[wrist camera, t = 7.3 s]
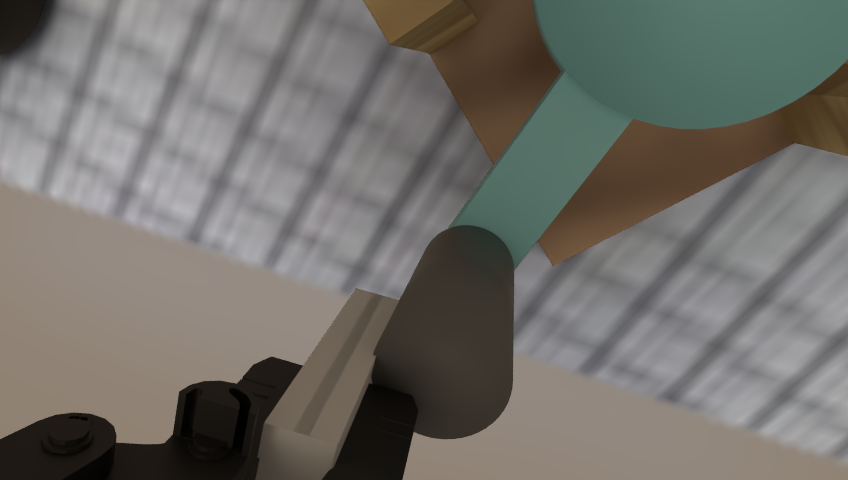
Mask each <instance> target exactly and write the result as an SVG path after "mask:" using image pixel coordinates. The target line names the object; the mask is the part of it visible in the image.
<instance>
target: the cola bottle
mask: <svg viewBox="0 0 848 480" xmlns="http://www.w3.org/2000/svg"><path fill="white" fill-rule="evenodd" d="M42 6H43V0H0V55H1V54H4V53H6V52H8V51H10V50H12V49H13V48H15V47H17V46H18V45H19V44H21V43H22V42H23V41H24V40H25V39H26V38H27V37H28V36H29V34H30V33H31V32H32V30H33V29H34V27H35V25H36V24H37V21H38V19H39V17H40V14H41V10H42Z"/></svg>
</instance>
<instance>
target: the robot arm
mask: <svg viewBox="0 0 848 480" xmlns="http://www.w3.org/2000/svg"><path fill="white" fill-rule="evenodd" d="M398 302H399V300H396V299H392V298H389V297H385V296H382V295H378V294H375V293H371V292H368V291H364V290H360V289H357V288H356V289H355V291H354V292H353V294H352V295H351V297H350V298H349V300H348V301H347V303H346V304H345V306H344V307H343V308H342V310H341V311H340V313H339V314H338V316H337V317H336V319H335V320H334V322H333V323H332V325H331V326H330V327H329V329H328V330H327V332H326V333H325V335H324V336H323V338H322V339H321V341H320V342H319V343H318V345H317V346H316V348H315V350H314V351H313V352H312V354H311V355H310V357H309V358H308V360H307V361H306V362H305V364H304V365H303V366H302V365H299V364H295V363H292V362H289V361H285V360H282V359H278V358H275V357H270V358H267V359H265V360H263V361H261V362H258V363H256V364H254V365H253V366H252V367H251V368H250V369H249V370H248V372H247V373H246V374H245V375H244V376H243V378H242V380H240V381H239V382H238V383H237V384H235V383H229V382H224V381H203V382H200V383H196V384H192V385H190V386H188V387H186V388H185V389H183V390H181V391H180V392H179V397H178V404H177V410H176V417H175V424H174V431H173V435H172V436H171V437H170V438H169V439H168V440H167V441H166V442H165V443H163V444H146V445H145V444H129V443H116V432H115V429H114V426H113V425H112V424H111V423H109V422H108V421H107V420H106V419H104V418H101V417H98V416H95V415H92V414H85V413H68V414H59V415H54V416H51V417H48V418H45V419H43V420H40V421H37V422H35V423H33V424H31V425H29V426H27V427H25V428H23V429H21V430H19V431H17V432H14V433H12V434H10V435H8V436H6V437H4V438H2V439H0V480H402V479H403V475H404V470H405V466H406V462H407V457H408V453H409V449H410V445H411V440H412V436H413V432H414V427H415V423H416V419H417V414H418V409H417V406H416V404H415V401H414V399H413V396H412V395H409V394H405V393H402V392H398V391H395V390H391V389H388V388H384V387H381V386H377V385H374V384H372V378H371V375H372V371H373V367H374V363H375V359H376V356H375V355H373V353H374V350H375V348H376V345H377V343H378V341H379V339H380V337H381V335H382V333H383V331H384V329H385V327H386V326H387V324H388V322H389V320H390V318H391V316H392V314H393V312H394V310H395V308H396V306H397V304H398Z"/></svg>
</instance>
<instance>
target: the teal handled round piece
mask: <svg viewBox="0 0 848 480" xmlns="http://www.w3.org/2000/svg"><path fill="white" fill-rule="evenodd" d="M532 5H533V10H534V15H535V20H536V23H537V26H538V29H539V32H540V35H541V38H542V40H543V42H544V44H545V46H546V48H547V50H548V52H549V54H550V56H551V58H552V59H553V61H554V62H555V64H556V65H557V66H558V68H559V69H560V71H561V72H560V74H559V75H558V76H557V78H556V79H555V81H554V82H553V83H552V85H551V86H550V88H549V89H548V90H547V92H546V93H545V95H544V96H543V97H542V99H541V100H540V101H539V103H538V104H537V106H536V107H535V108H534V110H533V111H532V113H531V114H530V115H529V117H528V118H527V120H526V121H525V122H524V124H523V125H522V126H521V128H520V129H519V131H518V132H517V133H516V135H515V136H514V138H513V139H512V140H511V142H510V143H509V145H508V146H507V147H506V149H505V150H504V151H503V153H502V154H501V156H500V157H499V158H498V160H497V161H496V163H495V164H494V165H493V167H492V168H491V170H490V171H489V172H488V174H487V175H486V176H485V178H484V179H483V181H482V182H481V183H480V185H479V186H478V188H477V189H476V190H475V192H474V193H473V195H472V196H471V197H470V199H469V200H468V201H467V203H466V204H465V206H464V207H463V208H462V210H461V211H460V213H459V214H458V215H457V217H456V218H455V220H454V221H453V222H452V224H451V225H450V226H449V228H448V229H447V230H445V231H443V232H441V233H440V234H438V235H437V236H436V237H435V238H434V239H433V240H432V241H431V242H430V243H429V245H428V246H427V248H426V250H425V252H424V254H423V256H422V258H421V260H420V261H419V263H418V265H417V267H416V269H415V271H414V273H413V275H412V277H411V279H410V281H409V283H408V285H407V287H406V289H405V291H404V293H403V294H402V296H401V298H400V300H399V302H398V304H397V306H396V308H395V310H394V312H393V314H392V316H391V318H390V320H389V322H388V324H387V326H386V327H385V329H384V331H383V333H382V335H381V337H380V339H379V341H378V343H377V345H376V348H375V350H374V353H373V355H375V356H376V359H375V363H374V367H373V371H372V375H371V378H372V384H374V385H377V386H381V387H384V388H388V389H391V390H395V391H398V392H402V393H405V394H409V395H412V396H413V399H414V401H415V404H416V406H417V409H418V414H417V419H416V423H415V427H414V432H416V433H418V434H421V435H424V436H427V437H431V438H438V439H456V438H463V437H467V436H470V435H473V434H475V433H478V432H480V431H482V430H483V429H485V428H487V427H488V426H489V425H491V424H492V423H493V422H494V421H495V420H496V419H497V418H498V417H499V416H500V415H501V413H502V412H503V411H504V409H505V407H506V405H507V403H508V401H509V398H510V395H511V391H512V384H513V325H514V270H515V268H516V267H517V266H518V265H519V263H520V262H521V261H522V260H523V258H524V257H525V256H526V254H527V253H528V252H529V251H530V249H531V248H532V247H533V246H534V244H535V243H536V242H537V240H538V239H539V238H540V237H541V235H542V234H543V233H544V232H545V230H546V229H547V228H548V226H549V225H550V224H551V223H552V221H553V220H554V219H555V218H556V216H557V215H558V214H559V212H560V211H561V210H562V209H563V207H564V206H565V205H566V204H567V202H568V201H569V200H570V198H571V197H572V196H573V195H574V193H575V192H576V191H577V190H578V188H579V187H580V186H581V184H582V183H583V182H584V181H585V179H586V178H587V177H588V176H589V174H590V173H591V172H592V170H593V169H594V168H595V167H596V165H597V164H598V163H599V162H600V160H601V159H602V158H603V156H604V155H605V154H606V153H607V151H608V150H609V149H610V148H611V146H612V145H613V144H614V142H615V141H616V140H617V139H618V137H619V136H620V135H621V134H622V132H623V131H624V130H625V129H626V127H627V126H628V125H629V123H630V122H631V121H632V120H633V118H634V119H636V120H639V121H643V122H647V123H650V124H654V125H657V126H664V127H671V128H677V129H708V128H717V127H726V126H730V125H734V124H738V123H743V122H747V121H750V120H753V119H756V118H759V117H761V116H764V115H767V114H770V113H772V112H774V111H776V110H778V109H780V108H782V107H784V106H786V105H788V104H790V103H792V102H794V101H796V100H797V99H799V98H800V97H802V96H804V95H805V94H807V93H808V92H810V91H811V90H813V89H814V88H816V87H817V86H818V85H820V84H821V83H822V82H823V81H824V80H826V79H827V78H828V77H829V76H831V75H832V74H833V73H834V72H836V71H837V70H838V69H839V68H840V67H841V66H842V65H843V63H844V62H845V61H846V60H847V59H848V0H532Z"/></svg>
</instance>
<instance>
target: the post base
mask: <svg viewBox="0 0 848 480" xmlns="http://www.w3.org/2000/svg"><path fill="white" fill-rule="evenodd" d="M363 1H364V2H365V4H366V6H367V7H368V9H369V11H370V12H371V14H372V16H373V18H374V19H375V21H376V23H377V24H378V26H379V28H380V29H381V31H382V33H383V34H384V36H385V38H386V39H387V41H388V43H389V44H390V45H394V46H399V47H403V48H408V49H412V50H416V51H421V52H425V53H429V54H430V56H431V58H432V60H433V61H434V63H435V65H436V66H437V68H438V70H439V72H440V73H441V75H442V77H443V78H444V80H445V82H446V84H447V85H448V87H449V89H450V90H451V92H452V94H453V96H454V97H455V99H456V101H457V102H458V104H459V106H460V108H461V109H462V111H463V113H464V114H465V116H466V118H467V120H468V121H469V123H470V125H471V126H472V128H473V130H474V132H475V133H476V135H477V137H478V138H479V140H480V142H481V144H482V145H483V147H484V149H485V150H486V152H487V154H488V156H489V157H490V159H491V161H492V162H493V164H495V163H496V161H497V160H498V158H499V157H500V156H501V154H502V153H503V151H504V150H505V149H506V147H507V146H508V145H509V143H510V142H511V140H512V139H513V138H514V136H515V135H516V133H517V132H518V131H519V129H520V128H521V126H522V125H523V124H524V122H525V121H526V120H527V118H528V117H529V115H530V114H531V113H532V111H533V110H534V108H535V107H536V106H537V104H538V103H539V101H540V100H541V99H542V97H543V96H544V95H545V93H546V92H547V90H548V89H549V88H550V86H551V85H552V83H553V82H554V81H555V79H556V78H557V76H558V75H559V74H560V72H561V71H560V69H559V68H558V66H557V65H556V64H555V62H554V61H553V59H552V58H551V56H550V54H549V52H548V50H547V48H546V46H545V44H544V42H543V40H542V38H541V35H540V32H539V29H538V26H537V23H536V20H535V15H534V10H533V5H532V0H363ZM793 143H798V144H802V145H806V146H810V147H814V148H818V149H822V150H826V151H830V152H834V153H837V154H841V155H845V156H848V59H847V60H846V61H845V62H844V63H843V65H842V66H841V67H840V68H839V69H838V70H837V71H836V72H834V73H833V74H832V75H831V76H829V77H828V78H827V79H826V80H824V81H823V82H822V83H821V84H820V85H818V86H817V87H816V88H814V89H813V90H811V91H810V92H808V93H807V94H805V95H804V96H802V97H800V98H799V99H797V100H796V101H794V102H792V103H790V104H788V105H786V106H784V107H782V108H780V109H778V110H776V111H774V112H772V113H770V114H767V115H764V116H761V117H759V118H756V119H753V120H750V121H747V122H743V123H738V124H734V125H730V126H726V127H717V128H708V129H677V128H671V127H664V126H657V125H654V124H650V123H647V122H643V121H639V120H636V119H634V118H633V120H632V121H631V122H630V123H629V125H628V126H627V127H626V129H625V130H624V131H623V132H622V134H621V135H620V136H619V137H618V139H617V140H616V141H615V142H614V144H613V145H612V146H611V148H610V149H609V150H608V151H607V153H606V154H605V155H604V156H603V158H602V159H601V160H600V162H599V163H598V164H597V165H596V167H595V168H594V169H593V170H592V172H591V173H590V174H589V176H588V177H587V178H586V179H585V181H584V182H583V183H582V184H581V186H580V187H579V188H578V190H577V191H576V192H575V193H574V195H573V196H572V197H571V198H570V200H569V201H568V202H567V204H566V205H565V206H564V207H563V209H562V210H561V211H560V212H559V214H558V215H557V216H556V218H555V219H554V220H553V221H552V223H551V224H550V225H549V226H548V228H547V229H546V230H545V232H544V233H543V234H542V235H541V237H540V238H539V239H538V241H539V243H540V245H541V246H542V248H543V250H544V252H545V253H546V255H547V257H548V258H549V260H550V262H551V264H552V265H553V266H554V265H556V264H558V263H560V262H562V261H564V260H566V259H568V258H570V257H572V256H574V255H576V254H578V253H580V252H582V251H584V250H586V249H588V248H590V247H592V246H593V245H595V244H597V243H599V242H601V241H603V240H605V239H607V238H609V237H611V236H613V235H615V234H617V233H619V232H621V231H623V230H625V229H627V228H629V227H631V226H633V225H635V224H637V223H638V222H640V221H642V220H644V219H646V218H648V217H650V216H652V215H654V214H656V213H658V212H660V211H662V210H664V209H666V208H668V207H670V206H672V205H674V204H676V203H678V202H680V201H682V200H684V199H685V198H687V197H689V196H691V195H693V194H695V193H697V192H699V191H701V190H703V189H705V188H707V187H709V186H711V185H713V184H715V183H717V182H719V181H721V180H723V179H725V178H727V177H729V176H731V175H732V174H734V173H736V172H738V171H740V170H742V169H744V168H746V167H748V166H750V165H752V164H754V163H756V162H758V161H760V160H762V159H764V158H766V157H768V156H770V155H772V154H774V153H776V152H778V151H779V150H781V149H783V148H785V147H787V146H789V145H791V144H793Z"/></svg>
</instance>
